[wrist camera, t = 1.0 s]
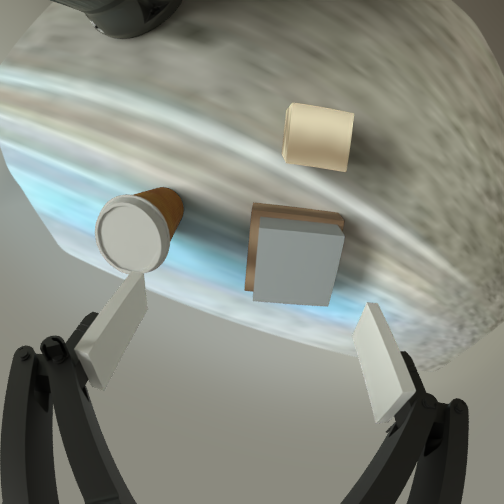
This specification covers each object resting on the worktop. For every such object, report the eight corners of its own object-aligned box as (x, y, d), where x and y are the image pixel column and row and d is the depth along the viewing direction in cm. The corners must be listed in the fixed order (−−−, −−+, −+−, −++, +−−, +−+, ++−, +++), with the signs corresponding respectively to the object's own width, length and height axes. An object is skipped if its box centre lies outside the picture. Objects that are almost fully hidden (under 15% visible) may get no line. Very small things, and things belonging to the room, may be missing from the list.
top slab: (260, 216, 34) (259, 227, 31) (337, 224, 34) (345, 236, 30) (254, 284, 39) (252, 300, 35) (323, 289, 38) (328, 306, 35)
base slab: (253, 201, 38) (251, 209, 34) (337, 211, 37) (344, 221, 34) (246, 276, 43) (244, 290, 39) (321, 283, 43) (325, 298, 39)
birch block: (286, 110, 31) (292, 102, 22) (331, 117, 31) (354, 113, 22) (281, 154, 34) (286, 163, 25) (326, 160, 34) (346, 172, 25)
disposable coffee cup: (125, 211, 39) (81, 242, 28) (157, 162, 35) (114, 179, 25) (170, 250, 41) (139, 293, 30) (207, 205, 38) (182, 238, 27)
